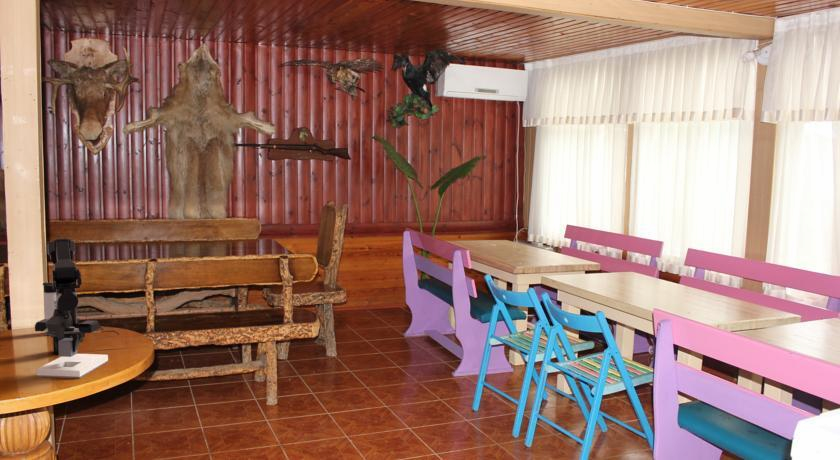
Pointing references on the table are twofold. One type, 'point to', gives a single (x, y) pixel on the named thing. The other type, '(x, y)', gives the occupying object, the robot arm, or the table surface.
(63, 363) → the socket plate
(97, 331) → the sunglasses
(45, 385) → the table surface
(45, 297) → the travel mug
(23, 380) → the table surface
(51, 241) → the robot arm
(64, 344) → the block
